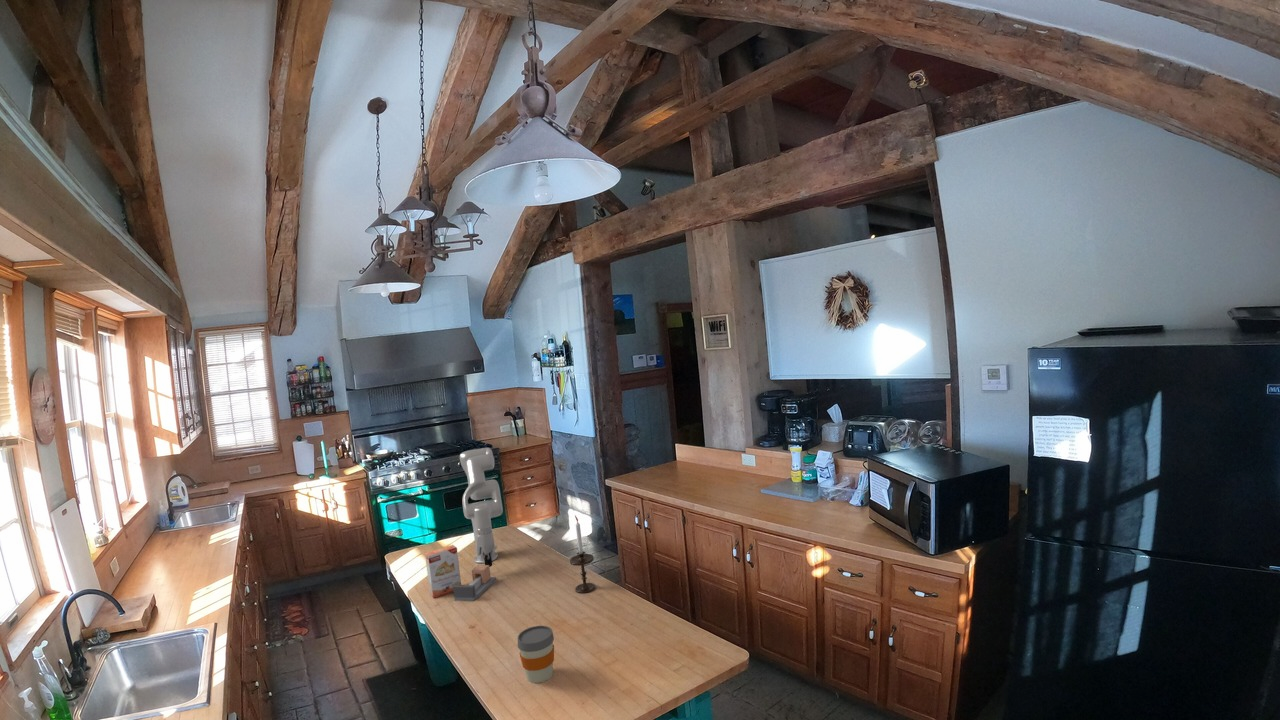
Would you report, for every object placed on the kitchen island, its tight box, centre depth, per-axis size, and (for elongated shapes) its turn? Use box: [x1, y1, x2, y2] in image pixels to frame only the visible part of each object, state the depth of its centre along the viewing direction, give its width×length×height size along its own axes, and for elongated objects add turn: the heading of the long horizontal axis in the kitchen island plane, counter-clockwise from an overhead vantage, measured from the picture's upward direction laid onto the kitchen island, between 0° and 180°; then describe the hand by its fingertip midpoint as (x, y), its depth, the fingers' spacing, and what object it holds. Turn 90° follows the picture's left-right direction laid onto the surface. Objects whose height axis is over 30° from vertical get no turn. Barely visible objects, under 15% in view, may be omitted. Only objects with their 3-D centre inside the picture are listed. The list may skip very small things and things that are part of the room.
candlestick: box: [569, 515, 596, 595], centre depth 279 cm, size 11×11×35 cm
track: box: [453, 574, 498, 602], centre depth 292 cm, size 22×10×6 cm, turn 165°
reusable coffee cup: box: [517, 625, 555, 684], centre depth 213 cm, size 13×13×15 cm
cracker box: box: [424, 544, 462, 599], centre depth 293 cm, size 14×6×21 cm, turn 125°
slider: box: [471, 564, 492, 584], centre depth 298 cm, size 6×6×7 cm
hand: (488, 566), depth 305 cm, fingers closed
